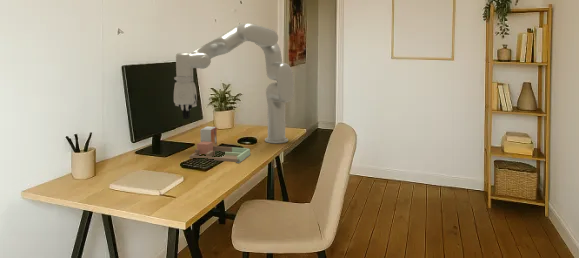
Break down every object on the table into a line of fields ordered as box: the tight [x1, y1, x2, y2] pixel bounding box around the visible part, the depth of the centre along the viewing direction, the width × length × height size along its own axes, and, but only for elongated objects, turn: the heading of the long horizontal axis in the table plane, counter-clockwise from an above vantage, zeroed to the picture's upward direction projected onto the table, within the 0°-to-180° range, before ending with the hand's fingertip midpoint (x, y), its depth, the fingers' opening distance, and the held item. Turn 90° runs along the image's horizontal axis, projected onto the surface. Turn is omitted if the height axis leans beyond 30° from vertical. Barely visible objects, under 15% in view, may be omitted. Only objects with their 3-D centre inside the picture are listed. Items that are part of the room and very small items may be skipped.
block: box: [196, 141, 213, 154], centre depth 203 cm, size 6×6×5 cm
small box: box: [200, 126, 218, 146], centre depth 214 cm, size 8×6×10 cm
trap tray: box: [188, 145, 251, 164], centre depth 199 cm, size 15×24×3 cm, turn 76°
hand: (186, 118), depth 203 cm, fingers closed
